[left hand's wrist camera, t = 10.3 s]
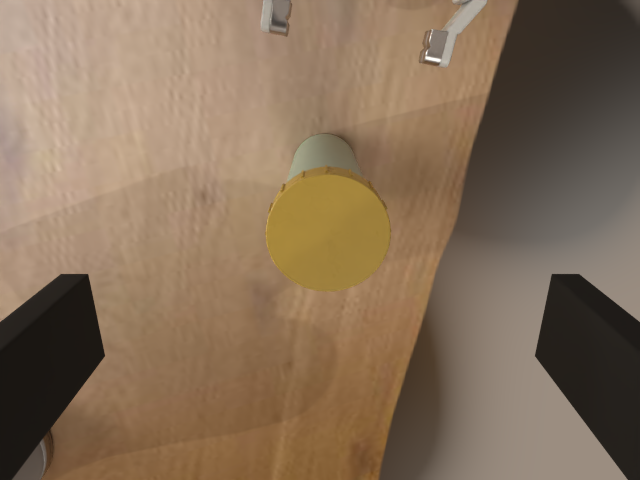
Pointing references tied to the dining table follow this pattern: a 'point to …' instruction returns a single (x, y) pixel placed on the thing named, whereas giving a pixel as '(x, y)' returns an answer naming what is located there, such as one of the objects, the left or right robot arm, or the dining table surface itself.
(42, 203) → the dining table surface
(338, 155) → the jar
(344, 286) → the lid
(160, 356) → the dining table surface
